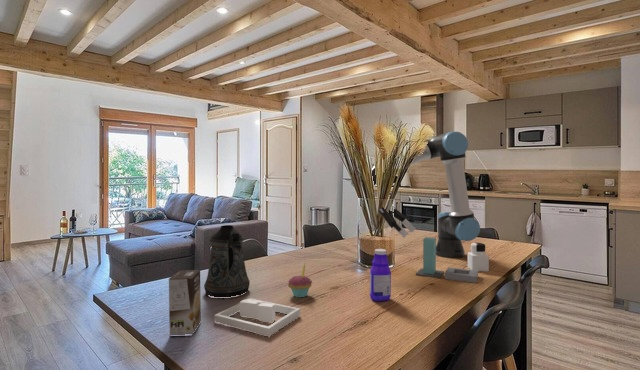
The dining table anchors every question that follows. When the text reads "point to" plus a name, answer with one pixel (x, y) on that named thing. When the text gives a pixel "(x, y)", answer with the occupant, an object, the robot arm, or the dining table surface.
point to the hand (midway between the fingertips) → (410, 233)
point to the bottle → (380, 277)
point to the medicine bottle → (478, 258)
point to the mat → (435, 275)
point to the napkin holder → (258, 310)
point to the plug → (429, 255)
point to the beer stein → (226, 264)
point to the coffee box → (184, 302)
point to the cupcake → (300, 284)
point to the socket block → (461, 274)
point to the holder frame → (261, 329)
